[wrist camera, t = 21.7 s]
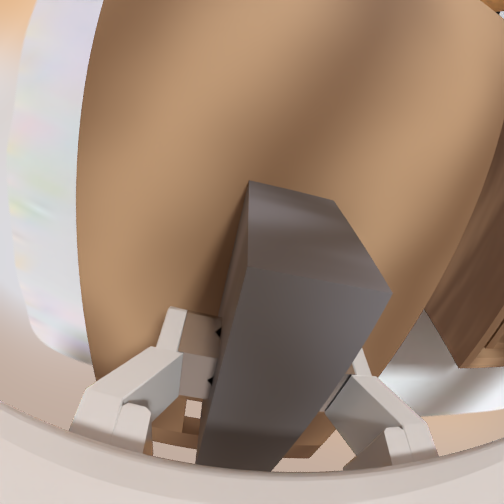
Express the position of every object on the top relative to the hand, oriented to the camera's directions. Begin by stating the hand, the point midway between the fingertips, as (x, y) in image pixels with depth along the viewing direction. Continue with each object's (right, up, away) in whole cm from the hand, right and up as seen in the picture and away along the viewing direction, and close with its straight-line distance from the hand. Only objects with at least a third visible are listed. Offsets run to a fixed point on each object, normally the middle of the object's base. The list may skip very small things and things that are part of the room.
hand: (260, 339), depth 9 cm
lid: (0, +1, +3) cm, 3 cm away
